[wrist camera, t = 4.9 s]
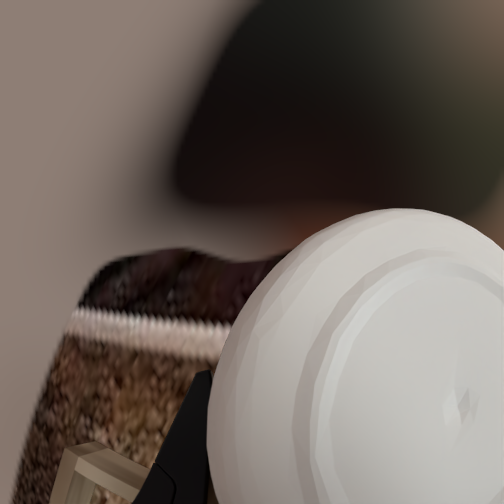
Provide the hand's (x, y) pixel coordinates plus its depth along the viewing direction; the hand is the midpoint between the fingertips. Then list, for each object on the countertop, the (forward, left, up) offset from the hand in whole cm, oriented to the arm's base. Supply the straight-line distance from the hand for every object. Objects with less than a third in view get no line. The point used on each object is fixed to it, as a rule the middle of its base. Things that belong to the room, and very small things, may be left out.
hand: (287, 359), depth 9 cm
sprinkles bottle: (-1, +1, -7) cm, 7 cm away
